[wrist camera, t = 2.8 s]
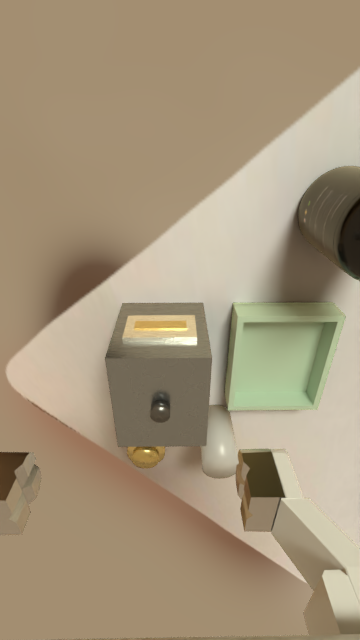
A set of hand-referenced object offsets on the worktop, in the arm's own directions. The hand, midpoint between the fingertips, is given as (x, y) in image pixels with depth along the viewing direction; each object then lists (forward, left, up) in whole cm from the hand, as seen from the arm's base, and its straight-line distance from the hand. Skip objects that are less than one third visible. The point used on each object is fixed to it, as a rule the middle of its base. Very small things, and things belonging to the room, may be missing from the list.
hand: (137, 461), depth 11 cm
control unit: (-10, 0, -21) cm, 24 cm away
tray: (-11, -12, -21) cm, 27 cm away
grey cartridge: (-21, -6, -21) cm, 31 cm away
